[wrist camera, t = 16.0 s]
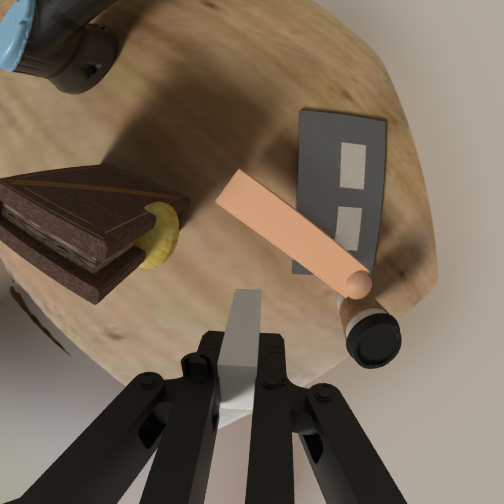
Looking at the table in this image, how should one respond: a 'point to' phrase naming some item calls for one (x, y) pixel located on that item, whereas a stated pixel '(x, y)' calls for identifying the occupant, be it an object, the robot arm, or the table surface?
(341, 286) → the cable arm
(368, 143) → the plate
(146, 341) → the table surface
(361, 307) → the coffee cup
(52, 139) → the table surface
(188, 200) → the book
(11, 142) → the table surface
